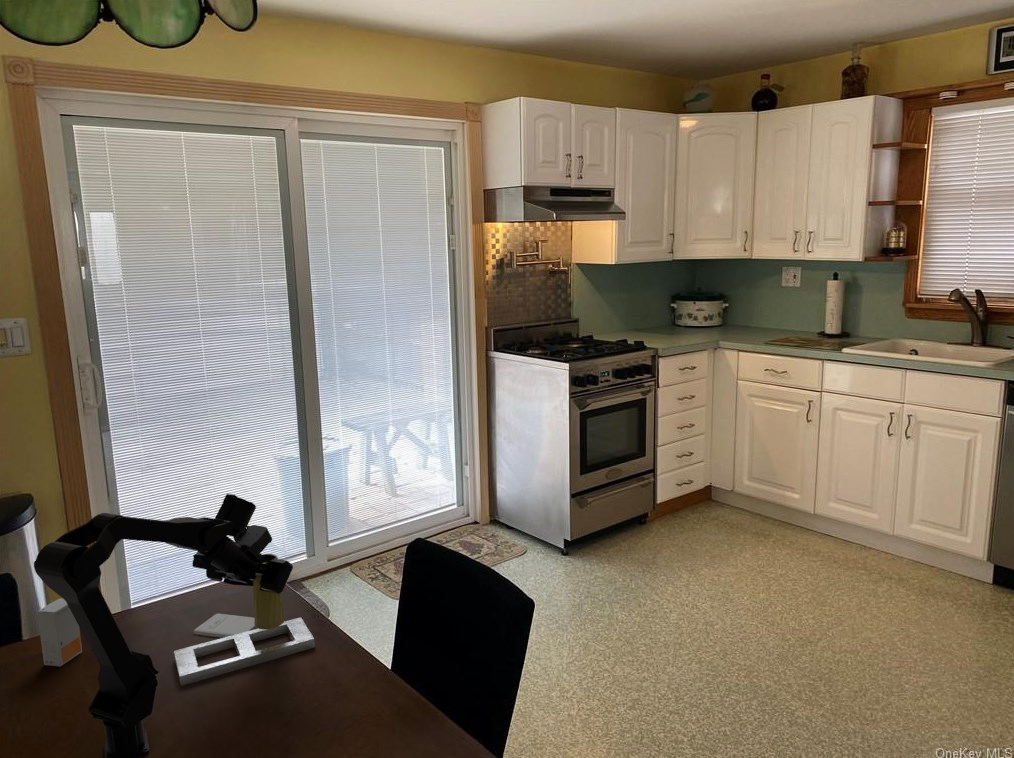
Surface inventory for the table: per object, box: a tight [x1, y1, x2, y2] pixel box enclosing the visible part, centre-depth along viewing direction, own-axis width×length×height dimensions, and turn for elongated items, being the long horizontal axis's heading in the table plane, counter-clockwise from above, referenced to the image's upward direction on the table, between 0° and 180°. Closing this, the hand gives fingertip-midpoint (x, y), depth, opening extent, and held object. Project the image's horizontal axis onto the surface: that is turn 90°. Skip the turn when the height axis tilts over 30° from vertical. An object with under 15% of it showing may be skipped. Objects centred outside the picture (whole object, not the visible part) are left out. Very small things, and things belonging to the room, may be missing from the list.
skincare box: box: [36, 597, 83, 667], centre depth 152 cm, size 6×4×12 cm
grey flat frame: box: [173, 616, 316, 687], centre depth 153 cm, size 11×26×2 cm, turn 120°
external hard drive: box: [193, 613, 258, 639], centre depth 164 cm, size 2×8×12 cm
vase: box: [252, 553, 286, 630], centre depth 153 cm, size 6×6×14 cm
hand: (271, 586), depth 155 cm, fingers closed on vase, 5 cm apart
